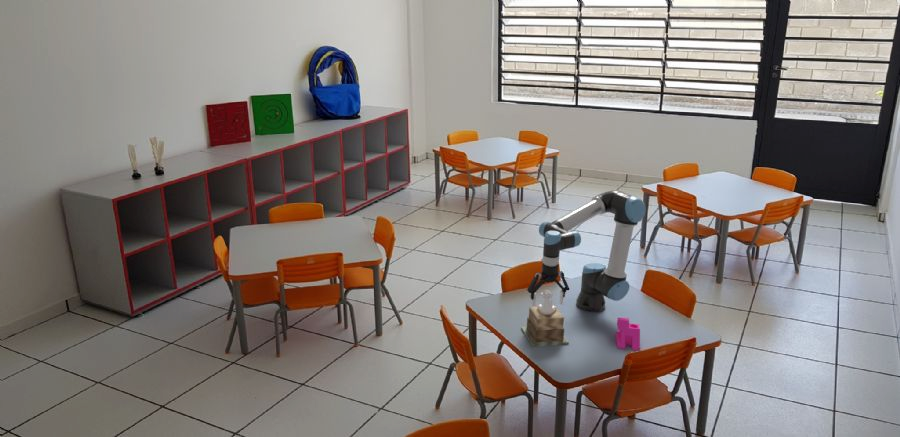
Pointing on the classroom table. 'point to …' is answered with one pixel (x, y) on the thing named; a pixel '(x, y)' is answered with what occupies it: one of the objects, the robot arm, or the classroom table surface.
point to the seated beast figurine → (546, 303)
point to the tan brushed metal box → (544, 328)
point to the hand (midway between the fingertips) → (547, 304)
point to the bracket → (627, 334)
